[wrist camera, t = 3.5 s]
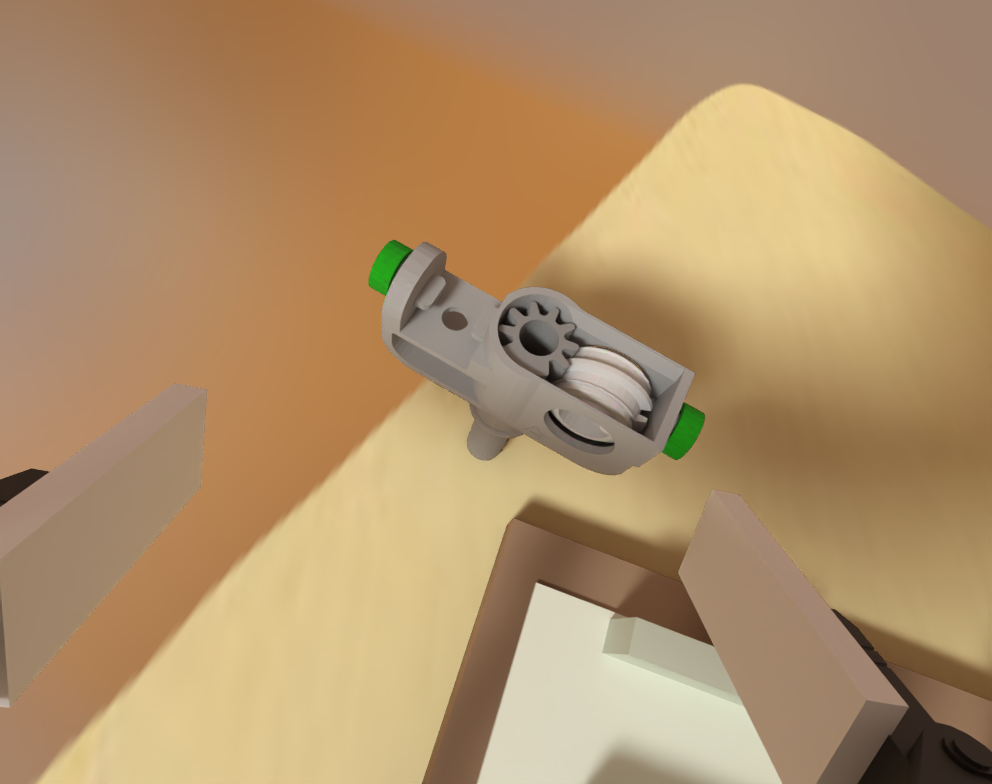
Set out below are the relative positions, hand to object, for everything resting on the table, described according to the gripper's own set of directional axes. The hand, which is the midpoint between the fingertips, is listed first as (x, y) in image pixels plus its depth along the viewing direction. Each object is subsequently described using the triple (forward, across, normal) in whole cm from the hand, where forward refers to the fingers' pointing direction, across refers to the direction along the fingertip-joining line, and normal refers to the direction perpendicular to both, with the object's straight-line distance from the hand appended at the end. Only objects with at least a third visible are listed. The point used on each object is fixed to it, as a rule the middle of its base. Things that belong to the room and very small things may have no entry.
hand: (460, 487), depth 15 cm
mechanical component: (+10, +2, -3) cm, 10 cm away
